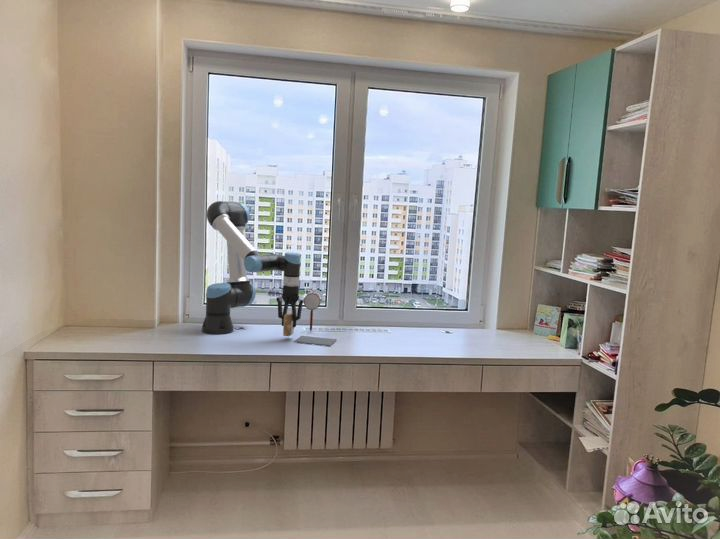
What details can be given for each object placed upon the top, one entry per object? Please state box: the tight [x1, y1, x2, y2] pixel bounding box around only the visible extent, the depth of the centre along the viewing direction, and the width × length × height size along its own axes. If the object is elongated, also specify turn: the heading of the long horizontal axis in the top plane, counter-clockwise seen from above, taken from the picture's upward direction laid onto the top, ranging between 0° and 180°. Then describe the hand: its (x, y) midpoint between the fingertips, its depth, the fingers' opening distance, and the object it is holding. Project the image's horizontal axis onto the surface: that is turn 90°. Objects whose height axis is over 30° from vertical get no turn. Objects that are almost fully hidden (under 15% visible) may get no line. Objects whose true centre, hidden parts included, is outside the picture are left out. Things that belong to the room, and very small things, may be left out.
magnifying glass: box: [303, 292, 322, 332], centre depth 268 cm, size 9×2×20 cm, turn 99°
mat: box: [293, 335, 338, 347], centre depth 249 cm, size 18×12×1 cm, turn 79°
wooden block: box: [282, 311, 293, 337], centre depth 250 cm, size 3×7×10 cm, turn 169°
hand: (288, 333), depth 251 cm, fingers closed on wooden block, 3 cm apart
